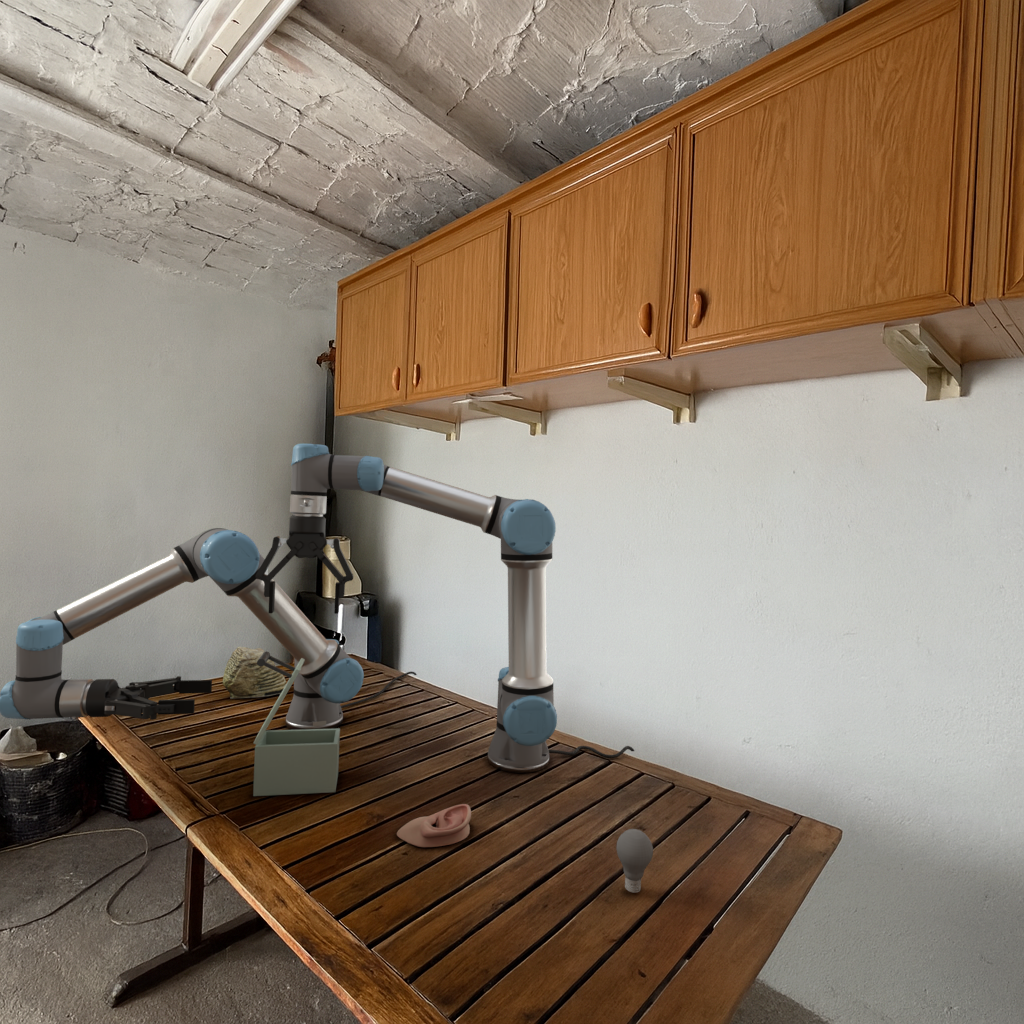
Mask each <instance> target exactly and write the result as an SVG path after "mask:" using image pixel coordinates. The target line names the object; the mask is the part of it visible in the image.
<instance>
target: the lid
mask: <svg viewBox="0 0 1024 1024" xmlns="http://www.w3.org/2000/svg"><path fill="white" fill-rule="evenodd" d="M268 659H269V660H271V661H273V662H274V663H275V664H278V665H280V666H282V667H283V668H286V669H288V670H290V671H292V672H291V673H290V672H288V671H286V670H284V669H282V668H280V667H277V666H276V667H275V666H273V665H271V664H269V663H267V660H268ZM304 660H305V659H303V658H301V659H300V661H299V663H298V665H297V666H296V668H295V666H292V665H291V664H288V663H287V662H284V661H283V660H280V659H278V658H277V657H274V656H272V655H271V653H270V652H269V651H264V653H263V654H262V655H261V657H260V658H259V659H258V661H257V665H258V666H266V667H268V668H270V669H272V670H274V671H276V672H278V673H281V674H282V675H283V676H284V677H287V678H289V679H288V680H287V681H286V685H285V687H284V689H283V691H282V692H281V693H280V694H279V696H278V698H277V700H276V701H275V702H274V705H273V706H272V708H271V710H270V711H269V713H268V714H267V716H266V718H265V720H264V722H263V724H262V725H261V727H260V729H259V731H258V733H257V735H256V737H255V739H254V741H253V744H254V745H255V746H256V745H257V744H258V743H259V741H260V739H261V738H262V736H263V734H264V732H265V731H267V729H268V727H269V726H270V724H271V722H272V720H273V719H274V717H275V715H276V713H277V712H278V710H279V708H280V706H281V705H282V703H283V701H284V699H285V697H286V696H287V694H288V692H289V690H290V689H291V687H292V685H294V680H295V678H296V677H297V675H298V673H299V671H300V669H301V667H302V665H303V663H304Z"/></svg>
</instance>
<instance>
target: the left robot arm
mask: <svg viewBox="0 0 1024 1024" xmlns="http://www.w3.org/2000/svg"><path fill="white" fill-rule="evenodd" d="M264 560H265V558H264V557H263V555H262V554H260V551H259V548H258V546H257V544H256V542H254V540H253V539H251V537H250V536H248V535H247V534H245V533H242V532H241V531H238V530H232V529H227V528H222V527H215V528H214V527H213V528H210V529H207V530H204V531H202V532H200V533H199V534H196V535H195V536H193V537H191V538H190V539H188V540H186V541H184V542H183V543H180V544H178V545H176V546H174V547H172V548H171V550H170V552H169V554H167V555H166V556H164V557H162V558H160V559H158V560H155V561H154V562H152V563H151V562H150V564H147V565H145V566H143V567H141V568H139V569H137V570H135V571H133V572H131V573H129V574H127V575H125V576H123V577H120V578H119V579H117V580H115V581H113V582H109V584H106V585H104V586H102V587H100V588H98V589H96V590H94V591H92V592H90V593H88V594H86V595H84V596H82V597H80V598H77V599H76V600H74V601H72V602H70V603H68V604H65V605H63V606H61V607H59V608H57V609H56V610H53V611H51V612H50V613H47V614H45V615H43V616H37V617H34V618H31V619H29V620H28V621H25V622H21V623H20V624H19V625H18V627H17V630H16V636H15V645H16V646H15V656H16V657H15V678H14V680H10V681H8V682H6V683H5V684H4V686H2V688H1V690H0V715H1V716H2V717H3V718H5V719H17V720H19V719H21V720H38V719H39V720H40V719H66V718H68V719H69V718H72V720H73V721H76V720H78V719H79V718H87V717H90V718H108V717H111V716H112V715H116V716H123V717H128V718H136V719H141V720H149V719H150V721H151V720H157V718H158V716H159V715H160V716H161V715H193V714H194V713H195V706H196V705H195V704H196V703H195V702H196V700H195V699H196V698H189V699H186V698H184V699H159V700H158V702H157V701H155V700H151V699H150V698H155V697H161V696H164V695H170V694H174V693H178V694H181V695H182V694H211V693H212V691H213V680H212V679H183V680H182V676H180V675H178V676H176V677H170V678H163V679H154V680H146V681H131V682H129V683H128V685H125V687H120V686H119V683H118V681H117V680H116V679H114V678H96V679H95V680H94V679H93V678H83V679H81V678H80V679H75V678H74V679H62V674H63V670H62V667H63V649H64V647H63V646H64V645H65V644H68V643H69V642H71V641H73V640H76V639H77V638H79V637H81V636H83V635H85V634H87V633H88V632H91V631H93V630H94V629H96V628H98V627H100V626H102V625H104V624H106V623H108V622H110V621H112V620H114V619H115V618H118V617H120V616H121V615H124V614H126V613H127V612H129V611H131V610H133V609H135V608H137V607H139V606H141V605H143V604H145V603H147V602H149V601H151V600H153V599H155V598H156V597H158V596H161V595H162V594H164V593H167V592H168V591H170V590H173V589H174V588H176V587H178V586H180V585H182V584H184V583H191V584H192V583H195V582H197V581H199V580H201V579H203V578H207V577H209V578H210V579H211V580H212V581H213V582H214V583H215V584H216V585H217V587H219V588H220V589H221V591H222V592H223V593H224V594H225V595H226V596H227V597H235V598H238V599H239V600H240V601H241V602H242V603H243V605H245V607H247V608H248V610H249V611H250V612H251V613H252V614H253V615H254V616H255V617H256V618H257V619H258V620H259V621H260V622H261V624H262V625H263V626H264V627H265V628H266V629H267V630H268V631H269V632H270V633H271V634H272V636H273V637H274V638H275V639H276V640H277V641H278V642H279V643H280V644H281V645H282V647H284V649H285V650H286V651H288V653H289V654H290V655H291V656H292V657H293V658H294V667H295V668H296V666H297V665H298V663H299V661H300V659H301V658H303V659H305V660H304V663H303V665H302V667H301V669H300V671H299V673H298V675H297V677H296V678H295V680H294V682H293V695H292V696H293V697H292V699H291V702H290V704H289V708H288V711H287V713H286V715H285V726H286V728H287V729H288V730H302V729H336V728H337V727H339V726H340V725H342V723H343V722H344V713H343V709H345V708H347V707H348V708H349V707H351V706H353V705H357V704H360V703H363V702H366V701H369V700H372V699H374V698H376V697H379V696H380V695H381V694H383V693H384V692H385V691H386V690H387V689H388V688H389V687H390V686H391V685H392V684H393V683H394V682H396V681H397V680H399V679H401V678H404V677H407V676H408V675H414V676H417V675H418V674H417V673H416V672H415V671H408V672H405V673H403V674H401V675H399V676H396V677H394V678H393V679H391V680H390V681H389V682H388V683H387V684H386V686H384V688H381V690H380V691H378V692H377V693H374V694H373V695H370V696H368V697H365V698H362V699H359V700H356V701H353V702H349V701H350V700H352V699H353V698H354V697H356V695H357V694H358V693H359V692H360V690H361V689H362V686H363V684H364V678H365V673H364V669H363V667H362V665H361V664H360V663H359V661H358V660H357V659H354V658H352V657H351V656H350V655H349V654H348V653H347V652H346V651H345V650H344V649H343V647H342V646H341V645H340V642H339V640H337V639H334V638H326V637H325V636H324V635H323V634H322V633H321V631H319V630H318V628H317V627H316V626H315V625H314V624H313V623H312V622H311V621H310V619H309V618H308V617H307V616H306V615H305V613H304V612H303V611H302V610H301V609H300V608H299V607H298V605H297V604H296V603H295V602H294V601H293V600H292V598H290V596H289V595H288V594H287V593H286V592H285V590H283V589H282V587H281V585H279V583H277V581H275V579H274V578H273V579H272V580H271V581H275V604H274V612H273V613H269V597H265V596H264V581H262V580H259V579H256V577H255V576H256V574H257V572H258V570H259V569H260V567H261V565H262V563H263V562H264ZM265 574H266V575H268V574H269V567H268V568H267V570H266V572H265ZM347 702H349V703H347ZM345 703H346V704H345Z"/></svg>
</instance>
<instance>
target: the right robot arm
mask: <svg viewBox="0 0 1024 1024" xmlns="http://www.w3.org/2000/svg"><path fill="white" fill-rule="evenodd" d="M290 471H291V472H290V474H291V476H290V497H289V499H290V500H289V501H290V502H289V513H290V514H292V515H290V517H289V524H288V536H287V537H280V535H276V536H274V537H273V538H272V544H271V548H270V549H269V551H268V553H267V554H266V557H265V558H264V559H265V560H264V562H263V563H262V565H261V567H260V569H259V570H258V572H257V574H256V576H255V577H256V579H259V580H262V581H264V596H265V597H269V613H273V612H274V604H275V582H276V580H274V578H275V577H276V576H277V574H279V572H281V570H282V569H283V568H285V566H286V565H287V564H288V563H289V562H291V560H292V559H293V558H294V557H296V558H298V559H305V558H307V559H315V558H318V559H319V560H320V561H321V562H322V563H323V565H324V566H325V567H326V568H327V570H329V572H330V573H331V574H332V575H333V577H334V578H335V579H336V580H337V582H335V584H334V585H335V587H334V612H333V613H334V615H335V614H336V615H337V614H338V615H339V613H340V612H339V611H340V599H343V598H344V597H345V594H346V593H345V592H346V583H348V582H351V581H353V580H354V573H353V572H352V570H351V567H350V565H349V563H348V560H347V559H346V556H345V554H344V552H343V550H342V548H341V540H340V538H339V537H335V538H329V539H327V537H326V527H327V526H326V523H327V522H326V520H327V518H326V517H325V516H324V515H326V514H327V501H328V500H327V499H328V498H327V496H328V495H327V494H328V493H327V492H328V490H329V489H330V490H345V491H346V490H348V491H361V492H365V493H368V494H371V495H375V496H378V497H382V498H385V499H388V500H391V501H394V502H398V503H401V504H404V505H408V506H410V507H414V508H417V509H420V510H423V511H427V512H429V513H433V514H436V515H440V516H443V517H446V518H450V519H452V520H456V521H460V522H463V523H466V524H469V525H471V526H472V525H473V526H476V527H478V528H480V529H481V531H482V532H483V533H484V534H487V535H491V536H493V537H496V538H498V539H500V561H501V562H502V563H503V564H504V565H505V566H506V567H507V617H508V618H507V629H508V631H507V632H508V633H507V635H508V636H507V637H508V638H507V639H508V643H507V644H508V666H504V667H502V668H501V669H499V671H498V677H497V682H498V684H497V686H498V687H497V704H496V705H497V706H496V727H495V731H494V734H493V736H492V739H491V742H490V744H489V746H488V750H487V761H488V763H489V764H490V766H492V767H494V768H496V769H498V770H501V771H503V772H510V773H517V774H518V773H519V774H526V773H528V774H529V773H534V772H535V773H536V772H538V771H541V770H543V769H545V768H547V766H549V764H550V754H557V755H563V756H575V755H576V754H577V753H578V752H579V751H580V750H588V751H591V752H593V753H594V754H596V755H598V756H600V757H602V758H606V759H617V758H619V757H620V756H622V755H623V754H624V753H625V752H626V751H627V750H629V751H630V752H635V749H634V748H633V747H632V746H630V745H625V746H624V747H623V748H622V749H621V750H619V751H618V752H617V753H614V754H607V753H603V752H601V751H599V750H598V749H596V748H594V747H592V746H587V745H579V746H577V747H576V748H575V749H574V750H572V751H566V750H565V751H564V750H560V749H559V750H557V749H549V747H548V743H547V741H548V740H549V739H550V738H551V737H552V736H553V734H554V733H555V731H556V728H557V725H558V713H557V710H556V707H555V700H554V697H555V696H554V693H555V692H554V679H553V677H552V676H551V675H550V674H549V673H548V672H547V669H548V668H547V663H548V662H547V660H548V659H547V567H548V565H549V564H550V563H551V562H552V561H553V542H554V539H555V536H556V532H557V528H556V520H555V518H554V515H553V513H552V512H551V510H550V509H549V508H548V507H547V506H546V505H545V504H544V503H542V502H541V501H538V500H535V499H530V498H529V499H528V498H525V499H516V498H509V497H503V496H501V495H497V494H494V495H492V496H486V495H483V494H480V493H477V492H474V491H470V490H467V489H464V488H459V487H457V486H454V485H450V484H447V483H444V482H441V481H438V480H435V479H431V478H428V477H425V476H422V475H418V474H416V473H412V472H409V471H405V470H402V469H398V468H396V467H393V466H389V465H386V464H384V460H383V459H382V458H381V457H379V456H371V455H346V454H345V455H343V454H339V455H338V454H332V453H330V451H329V447H328V446H327V445H325V444H318V443H317V444H316V443H297V444H295V445H294V446H293V448H292V457H291V463H290ZM284 544H286V545H287V547H288V548H289V550H290V551H289V552H288V553H287V554H286V555H285V556H284V557H283V558H282V559H281V561H279V562H278V563H277V564H276V566H274V567H273V569H271V571H270V572H268V575H266V574H265V572H266V570H267V568H268V569H269V567H270V565H271V563H272V561H273V560H274V558H275V556H276V555H277V553H278V551H279V548H282V547H283V546H284ZM327 545H329V547H330V549H332V550H333V551H334V553H335V555H336V558H337V560H338V561H339V564H340V566H341V569H342V570H343V572H344V574H345V575H343V574H342V573H341V572H340V570H339V569H338V568H337V566H336V565H335V564H334V563H333V562H332V560H330V558H329V557H328V556H327V554H326V552H324V551H323V550H324V549H325V547H326V546H327ZM272 579H273V580H274V581H271V580H272Z"/></svg>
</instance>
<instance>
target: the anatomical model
mask: <svg viewBox="0 0 1024 1024" xmlns="http://www.w3.org/2000/svg"><path fill="white" fill-rule="evenodd" d="M471 819H472V809H471V806H470V805H469V804H468V803H462V804H461V803H460V804H456V805H452V806H450V807H447V808H445V809H442V810H439V811H437V812H436V813H433V814H431V815H428V816H426V815H425V816H420V817H417V818H414V819H412V820H410V821H408V822H407V823H405V824H404V825H402V826H401V827H400V828H399V829H398V830H397V832H396V836H397V837H398V838H399V839H401V840H402V841H403V842H406V843H408V844H409V845H413V846H415V847H419V848H435V847H442V846H443V847H444V846H448V845H449V846H450V845H453V844H456V843H458V842H461V841H463V840H465V839H466V838H468V836H469V835H470V832H471V831H470V830H471V829H470V828H471V827H470V824H469V823H470V821H471Z"/></svg>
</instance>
